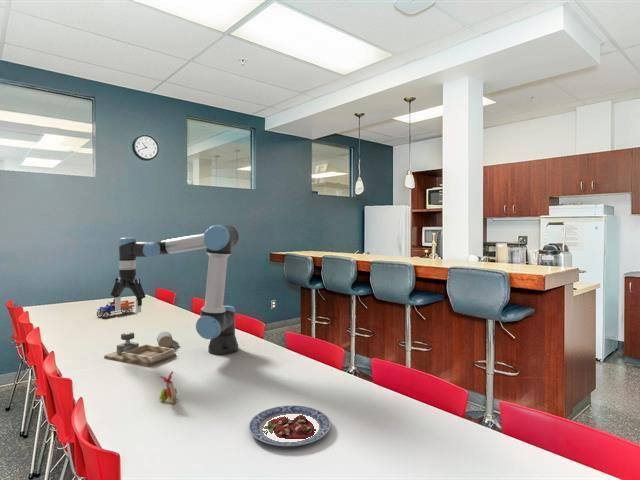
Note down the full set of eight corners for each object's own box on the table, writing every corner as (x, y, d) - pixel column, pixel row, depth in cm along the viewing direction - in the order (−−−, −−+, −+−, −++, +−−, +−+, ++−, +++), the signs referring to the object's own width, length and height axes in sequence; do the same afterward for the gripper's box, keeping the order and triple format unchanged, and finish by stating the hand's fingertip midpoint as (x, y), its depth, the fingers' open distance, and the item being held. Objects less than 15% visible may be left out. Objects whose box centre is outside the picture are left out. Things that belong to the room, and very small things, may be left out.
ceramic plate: (328, 411, 142) (328, 402, 142) (333, 452, 117) (333, 442, 117) (254, 411, 142) (254, 403, 142) (242, 453, 116) (242, 442, 116)
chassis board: (176, 355, 200) (176, 345, 200) (149, 366, 185) (149, 355, 185) (133, 348, 212) (132, 338, 212) (104, 358, 196) (104, 347, 196)
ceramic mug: (158, 350, 208) (158, 335, 208) (156, 346, 215) (156, 332, 215) (180, 348, 213) (180, 333, 213) (177, 344, 220) (177, 330, 220)
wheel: (137, 345, 203) (137, 332, 203) (127, 348, 198) (127, 335, 197) (128, 343, 205) (128, 331, 205) (118, 347, 200) (118, 334, 200)
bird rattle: (182, 406, 149) (172, 390, 155) (186, 383, 145) (177, 366, 151) (165, 412, 145) (156, 394, 151) (169, 387, 141) (160, 371, 147)
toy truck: (95, 317, 281) (95, 301, 280) (129, 311, 302) (129, 296, 301) (101, 319, 276) (101, 303, 276) (135, 313, 297) (135, 298, 297)
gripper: (152, 269, 201) (153, 311, 202) (115, 266, 210) (115, 307, 211) (141, 270, 194) (141, 314, 195) (102, 268, 203) (103, 310, 204)
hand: (128, 311), depth 203 cm, fingers open, 13 cm apart
